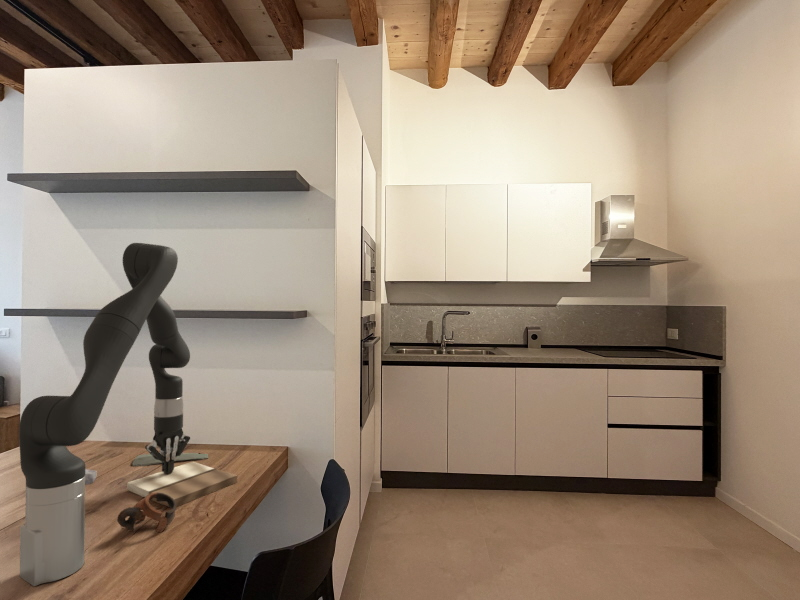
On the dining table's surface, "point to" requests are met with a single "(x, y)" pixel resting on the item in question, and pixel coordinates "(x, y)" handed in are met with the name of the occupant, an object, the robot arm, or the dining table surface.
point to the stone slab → (150, 460)
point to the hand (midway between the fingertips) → (168, 472)
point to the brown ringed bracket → (148, 512)
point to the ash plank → (165, 478)
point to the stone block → (90, 476)
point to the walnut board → (196, 486)
